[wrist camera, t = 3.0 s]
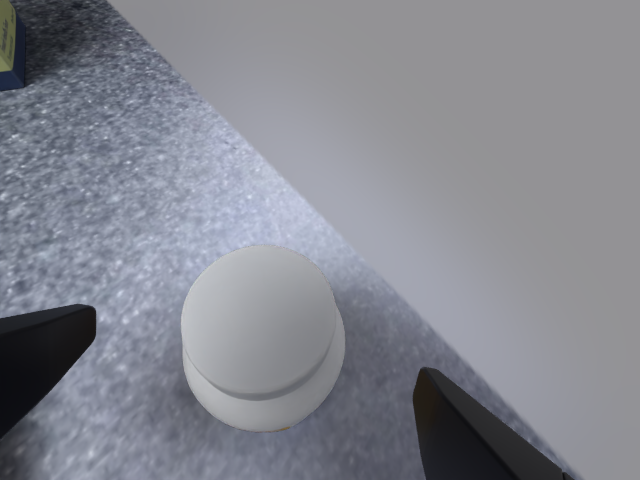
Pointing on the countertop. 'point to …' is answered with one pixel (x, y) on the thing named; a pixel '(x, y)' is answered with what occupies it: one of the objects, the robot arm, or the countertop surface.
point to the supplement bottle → (261, 338)
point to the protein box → (11, 48)
